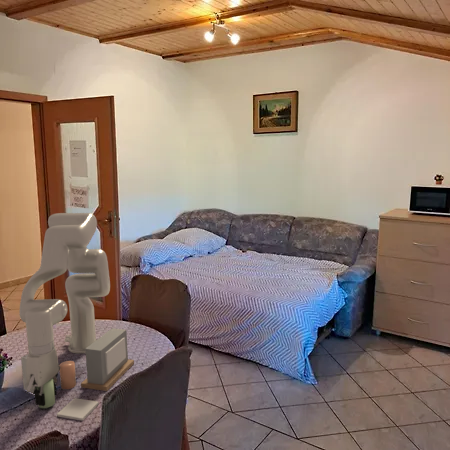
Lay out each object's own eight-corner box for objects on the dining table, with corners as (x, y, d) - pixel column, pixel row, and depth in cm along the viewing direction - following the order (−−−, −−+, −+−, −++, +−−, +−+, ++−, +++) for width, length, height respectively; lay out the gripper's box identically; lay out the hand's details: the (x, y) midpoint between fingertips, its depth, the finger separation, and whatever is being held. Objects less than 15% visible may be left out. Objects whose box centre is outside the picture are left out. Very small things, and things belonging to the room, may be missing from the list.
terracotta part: (57, 388, 147) (56, 366, 145) (66, 381, 151) (65, 360, 150) (70, 390, 145) (68, 368, 144) (79, 382, 150) (77, 361, 149)
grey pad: (57, 416, 131) (56, 414, 131) (74, 400, 139) (74, 398, 139) (82, 420, 128) (82, 418, 128) (98, 404, 137) (98, 401, 137)
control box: (81, 387, 147) (78, 349, 145) (110, 360, 166) (108, 326, 164) (106, 391, 144) (104, 352, 142) (134, 363, 164) (132, 329, 161)
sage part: (34, 406, 134) (32, 383, 133) (45, 398, 139) (43, 375, 138) (48, 409, 133) (46, 385, 132) (58, 400, 138) (56, 377, 136)
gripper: (49, 334, 142) (53, 384, 145) (11, 358, 125) (17, 413, 129) (68, 336, 140) (72, 387, 143) (32, 361, 124) (38, 417, 127)
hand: (46, 399), depth 136 cm, fingers closed on sage part, 5 cm apart
